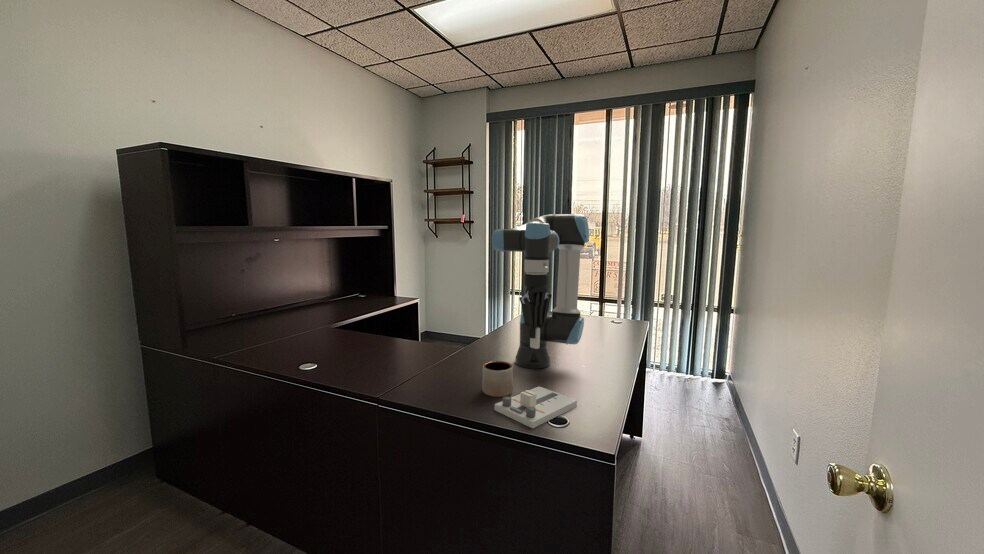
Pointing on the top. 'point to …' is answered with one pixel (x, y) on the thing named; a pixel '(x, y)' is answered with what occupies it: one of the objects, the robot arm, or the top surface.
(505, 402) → the console
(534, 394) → the fader
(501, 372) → the planter
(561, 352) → the top surface
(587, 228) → the robot arm
